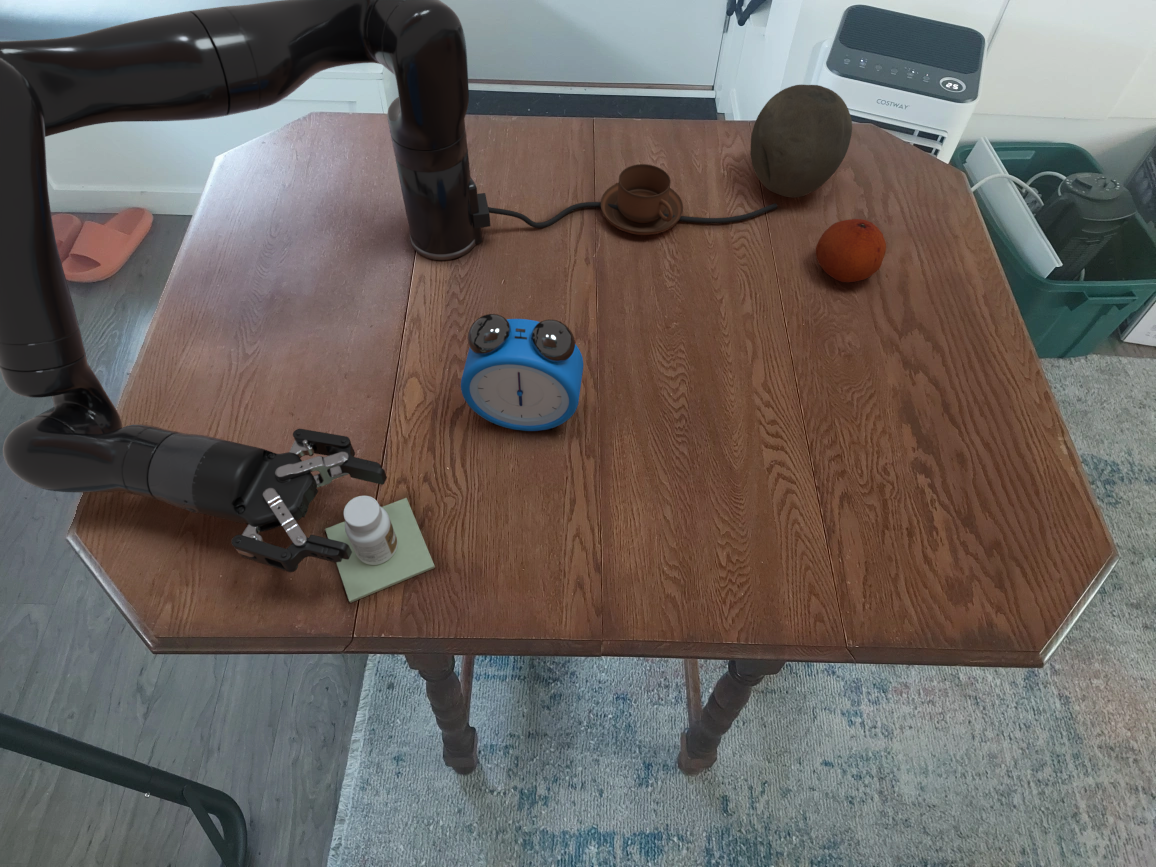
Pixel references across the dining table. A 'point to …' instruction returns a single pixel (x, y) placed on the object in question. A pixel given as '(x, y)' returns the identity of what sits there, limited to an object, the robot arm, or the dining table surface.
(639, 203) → the cup and saucer
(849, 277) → the fruit
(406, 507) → the coaster
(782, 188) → the kiwi
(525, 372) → the alarm clock
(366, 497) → the pill bottle
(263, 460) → the robot arm
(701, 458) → the dining table surface
